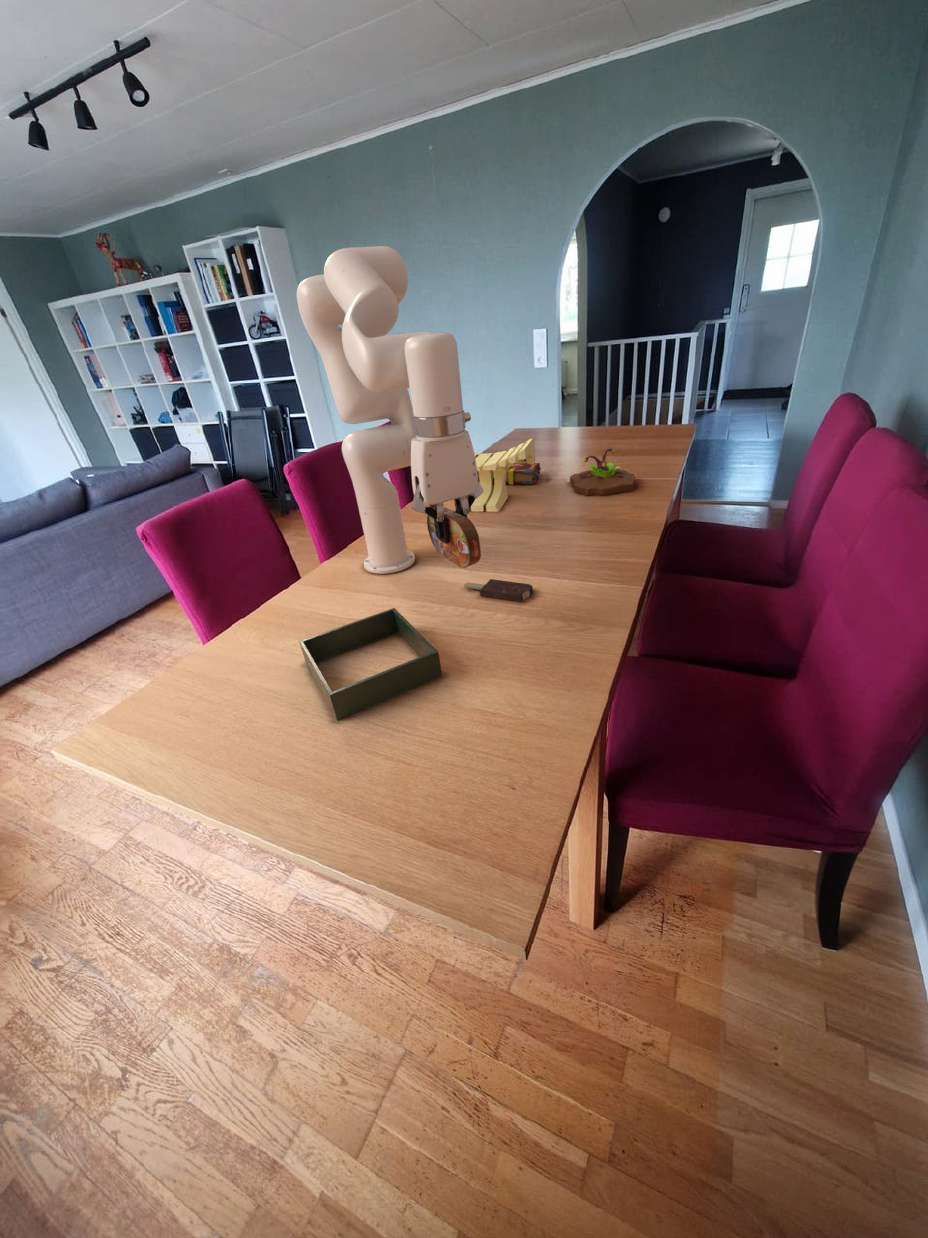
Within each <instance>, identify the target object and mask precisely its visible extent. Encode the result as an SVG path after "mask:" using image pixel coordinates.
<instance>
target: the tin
mask: <svg viewBox="0 0 928 1238" xmlns="http://www.w3.org/2000/svg"><path fill="white" fill-rule="evenodd" d="M454 511H455V510H452V509H450V508H447V507H444V519H445V520H446V521H447V522H448V529H449V537H450V542H449V543H448V544H445V543H444V542H442V541H440V540H439V539H438V538H437V536H436V532H435V525H434V519H433V518H431V517H430V516H429V515H427V514H426V526H427V531H428V535H429V538H430V541H431V543H432V545H433V548H434V550H435V551H436V552H437V553H438V554H439V555H440V556H441V557H443V558H445V559H446V560H447V561H449V562H450V563H453V564H454V565H456V566H457V567H459V568H460V569H466V568H468V567H470V566H473V565H475V564H477V563H478V562H480V560H481V558H482V553H481V543H480V536H479V533H478V530H477V528H476V526H475V524H474V523H473V522H472V520H470V518H468V516H467V517H465V516H462V515H460V514H458V513H456V512H454Z"/></svg>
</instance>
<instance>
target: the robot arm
mask: <svg viewBox="0 0 928 1238" xmlns="http://www.w3.org/2000/svg"><path fill="white" fill-rule="evenodd" d="M323 266H324V267H323V274H316V275H312V276H310V277H307V278H305V279H303V280H302V281H301V282H300V283H299V284H298V286H297V289H296V301H297V302H296V303H297V306H298V312H299V315H300V319H301V321H302V324H303V327H304V328H305V330H306V332H307V334H308V336H309V338H310V340H311V341H312V343H313V345H314V346H315V348H316V350H317V352H318V354H319V356H320V358H321V360H322V364H323V367H324V369H325V373H326V376H327V381H328V384H329V388H330V391H331V395H332V397H333V401H334V405H335V408H336V410H337V413H338V415H339V417H340V419H341V420H342V421H343V422H344V423H345V424H347V425H359V424H366V423H371V422H376V421H383V420H388V421H389V422H390V423H391V424H386V425H380V426H373V427H367V428H363V429H359V430H355V431H352V432H351V433H349V434H347V435H346V436H345V438H344V439H343V441H342V443H341V454H342V457H343V460H344V463H345V465H346V468H347V471H348V473H349V476H350V479H351V482H352V483H351V484H352V486H353V490H354V495H355V498H356V499H355V500H356V504H357V508H358V512H359V517H360V521H361V527H362V532H363V537H364V540H365V541H364V542H365V546H366V550H367V555H368V556H367V557H366V558H365V559H364V561H363V567H364V569H365V570H366V571H367V572H369V573H372V574H375V575H376V574H378V575H385V574H394V573H398V572H401V571H403V570H407V568H410V567H412V566H413V564H414V563H415V561H416V556H415V553H414V552H413V551H411V550H410V549H408V546H407V540H406V533H405V527H404V522H403V516H402V515H403V514H402V509H401V503H400V497H399V493H398V489H397V487H396V486H395V484H394V483H393V482H391V481H390V480H389V479H388V478H386V477H385V475H384V474H385V473H387V472H391V471H394V470H395V471H396V470H398V469H403V468H407V467H410V471H411V485H412V493H413V499H412V503H411V505H410V507H411V509H412V510H413V511H414V512H416V513H421V514H426V516H427V515H429V516H430V517H431V518H433V519H434V525H435V532H436V536H437V538H438V539H439V540H440V541H442V542H444V543H445V544H448V543H449V542H450V537H449V529H448V522H447V521H446V520H445V519H444V508H445V506H444V503H446V502H450V501H454V503H453V504H454V507H455V510H453V511H454V512H456V513H458V514H460V515H462V516H465V517H467V518H468V515H469V514H470V512H471V511H470V510H469V509H470V507H471V506H472V504H473V502H474V501H475V499H477V498H478V497H479V496H480V495H481V494H482V493H483V488H482V486H481V485H480V483H479V481H478V474H477V466H476V460H475V454H474V453H475V450H474V445H473V442H472V439H471V435H470V432H469V431H468V430H466V428H467V427H466V423H467V422H470V421H471V419H472V417H471V416H472V415H471V413H470V412H469V411H467V412H466V411H465V410H464V406H463V405H464V404H463V395H462V385H461V384H462V383H461V373H460V362H459V361H460V360H459V352H458V351H459V350H458V343H457V340H456V338H455V336H454V335H453V334H451V333H449V332H433V331H416V332H408V333H397V334H395V333H394V334H389V332H391V331H392V329H394V326H395V325H396V323H397V321H398V317H399V310H400V309H399V307H400V306H399V305H400V304H401V303H402V301H403V300H404V298H405V296H406V294H407V291H408V286H409V275H408V270H407V266H406V263H405V261H404V259H403V257H402V256H401V255H400V252H398V251H397V250H396V249H395V248H393V247H391V246H387V245H375V246H356V247H355V246H354V247H345V248H344V247H343V248H340V249H337V250H335V251H334V252H332V253H331V254H330V255H329V256H328V257H327V259H326V261H325V262H324V265H323ZM339 325H342V328H341V327H340V326H339ZM424 503H425V504H424Z"/></svg>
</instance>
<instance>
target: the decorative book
mask: <svg viewBox="0 0 928 1238" xmlns="http://www.w3.org/2000/svg"><path fill="white" fill-rule="evenodd" d="M541 470H542V468H541V463H540V462H534V464H533V465H531V464H527V463H526V461H525V462H524V463H523V464H517V462H516V463H515V464H514V465H512V466H510V467H509V468H508V471H507V474H506V480H505V484H508V485H514V484H522V485H534V484H536V485H538V484H539V482H538V481H536V480H537V479H538V478H540V475H541Z"/></svg>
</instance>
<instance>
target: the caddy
mask: <svg viewBox="0 0 928 1238" xmlns="http://www.w3.org/2000/svg"><path fill="white" fill-rule="evenodd" d="M396 633H397V634H398V635H399V636H400V637H401V638H402V639H403V640H404V641H405V643H406V644H408V646H409V647H410V648H411V649H412V650H413V651H414V652H415V654H417V655H418V657H416V658H413V659H411V660H408V661H405V662H403V663H400V664H398V665H396V666H393V667H391V668H389V669H386V670H383V671H381V672H378V673H376V674H374V675H371V676H368V677H366V678H363V679H361V680H358V681H356V682H353V683H351V684H348V685H346V686H343V687H341V688H337V689H335V690H332V688H331V687H330V685H329V683H328V681H327V680H326V679H325V677H324V675H323V673H322V672H321V670H320V668H319V667H318V665H317V663H319V662H321V661H323V660H326V659H329V658H332V657H334V656H337V655H340V654H342V653H345V652H348V651H350V650H354V649H356V648H359V647H361V646H365V645H367V644H370V643H373V642H375V641H379V640H381V639H383V638H386V637H388V636H391V635H394V634H396ZM298 642H299V645H300V649H301V652H302V655H303V658H304V662H305V664H306V666H307V668H308V670H309V672H310V673H311V675H312V677H313V679H314V681H315V683H316V685H317V686H318V688H319V691H320V692H321V694H322V695H323V697H324V699H325V701H326V703H327V705H328V707H329V709H330V711H331V712H332V714H333V715H334V718H335V719H336V721H338V722H339V721H340V720H342V719H345V718H347V717H350V716H352V715H354V714H356V713H359V712H361V711H364V710H366V709H368V708H370V707H373V706H375V705H378V704H380V703H382V702H384V701H387V700H389V699H392V698H394V697H396V696H399V695H401V694H404V693H406V692H408V691H411V690H413V689H415V688H418V687H420V686H423V685H425V684H427V683H430V682H432V681H434V680H436V679H439V678H442V677H443V673H442V666H441V660H440V653H439V650H437V648H436V647H434V646H433V645H432V644H431V643H430V641H428V640H427V639H426V637H425V636H423V634H421V632H419V631H418V630H417V629H416V628H415V627H414V626H413V625H412V624H411V623H410V622H409V621H408V619H406V618H405V617H404V616H403V615H402V614H401V612H399V611H398V610H397V608H395V607H393V608H390V609H387V610H384V611H382V612H379V613H376V614H373V615H370V616H367V617H364V618H361V619H359V620H355V621H353V622H350V623H347V624H344V625H341V626H339V627H336V628H333V629H330V630H327V631H324V632H321V633H318V634H315V635H312V636H309V637H307V638H304V639H301V640H299V641H298Z"/></svg>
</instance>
